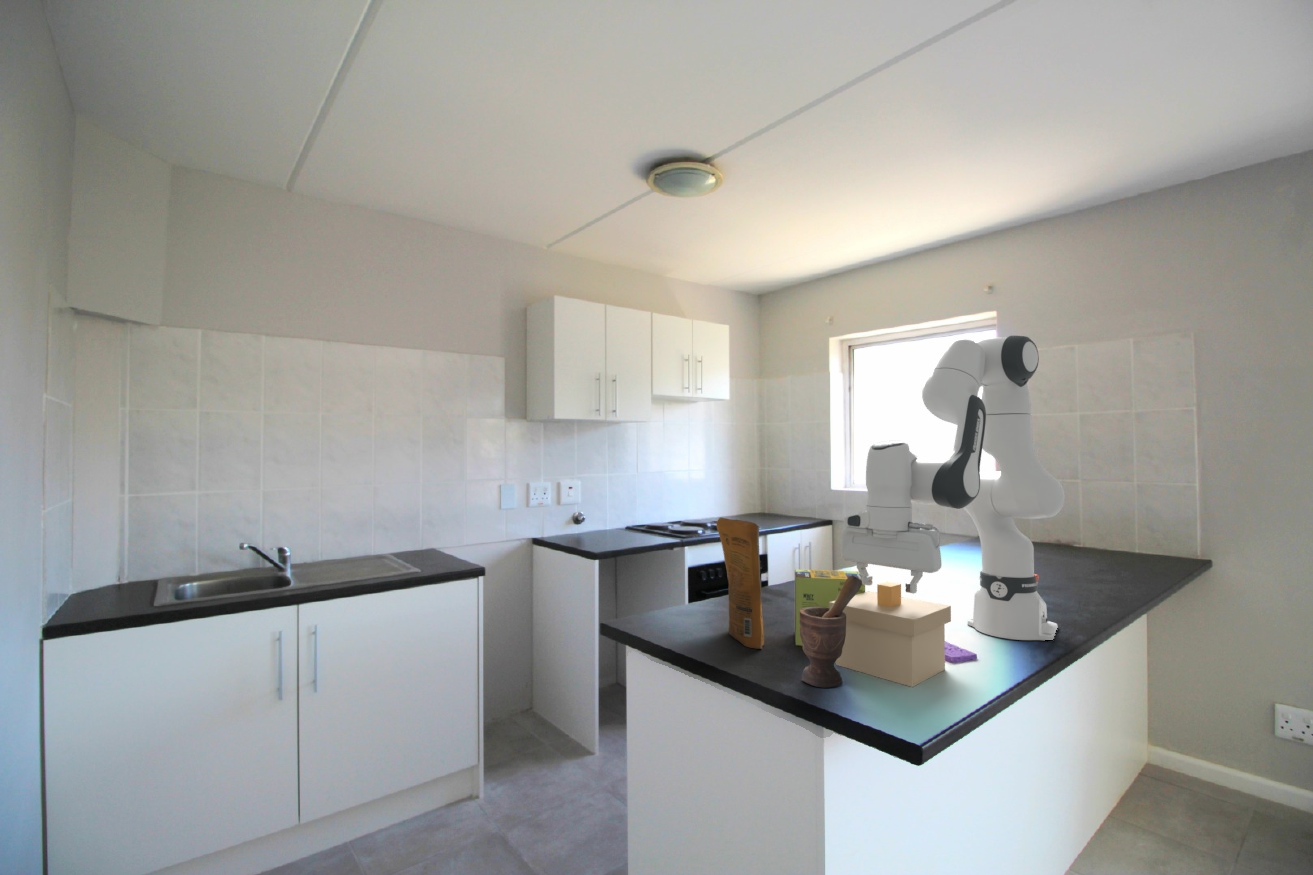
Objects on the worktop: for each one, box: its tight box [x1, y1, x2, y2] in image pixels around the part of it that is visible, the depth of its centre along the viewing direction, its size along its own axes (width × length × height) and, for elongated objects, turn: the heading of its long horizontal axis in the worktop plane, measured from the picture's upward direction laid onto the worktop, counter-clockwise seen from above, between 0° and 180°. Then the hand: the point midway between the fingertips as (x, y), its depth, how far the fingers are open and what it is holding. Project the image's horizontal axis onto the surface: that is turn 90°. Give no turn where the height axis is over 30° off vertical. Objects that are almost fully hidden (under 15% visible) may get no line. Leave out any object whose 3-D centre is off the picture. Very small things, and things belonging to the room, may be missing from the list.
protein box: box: [794, 569, 866, 647], centre depth 142 cm, size 10×15×16 cm
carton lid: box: [829, 581, 952, 637], centre depth 124 cm, size 16×18×7 cm
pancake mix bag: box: [716, 517, 765, 650], centre depth 143 cm, size 7×19×28 cm, turn 16°
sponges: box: [945, 641, 978, 663], centre depth 134 cm, size 7×13×2 cm, turn 18°
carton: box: [835, 621, 946, 688], centre depth 124 cm, size 14×16×12 cm
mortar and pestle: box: [800, 575, 862, 688], centre depth 117 cm, size 12×9×20 cm
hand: (888, 588), depth 124 cm, fingers open, 8 cm apart
